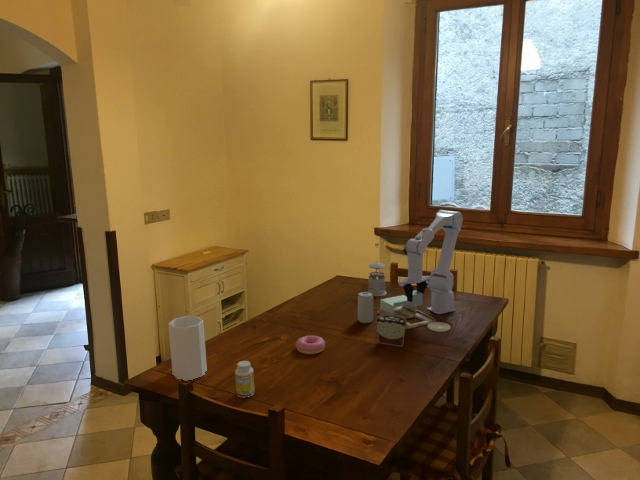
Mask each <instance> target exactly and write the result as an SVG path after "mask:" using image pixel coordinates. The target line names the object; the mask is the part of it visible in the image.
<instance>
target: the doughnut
mask: <svg viewBox="0 0 640 480" xmlns="http://www.w3.org/2000/svg"><path fill="white" fill-rule="evenodd" d="M295 348H296V350H297V351H298V352H299V353H301V354H304V355H316V354H319V353H322V352H323V351H324V350H325V348H326V341H325V340H324V338H323V337H321V336H318V335H305V336H302V337H300V338H298V339H297V341H296V342H295Z"/></svg>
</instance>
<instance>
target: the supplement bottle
mask: <svg viewBox="0 0 640 480" xmlns="http://www.w3.org/2000/svg"><path fill="white" fill-rule="evenodd" d="M236 366H237V367H236V369H235V372H234V375H235V388H236V389H235V391H236V392H235V393H236V396H237V397H238V398H241V397H242V398H241V399H246V398H245V397H248V398H251V397H252V396H254V394H255V392H256V391H255V375H254V374H255V372H254V368H253V367H252V365H251V362H250V361H248V360H242V361H239V362H237V363H236ZM250 396H251V397H250Z"/></svg>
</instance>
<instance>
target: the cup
mask: <svg viewBox="0 0 640 480" xmlns="http://www.w3.org/2000/svg"><path fill="white" fill-rule="evenodd" d="M204 326H205V324H204V320H203V319H202V318H201V317H200V316H195V315H185V316H180V317H175V318H173V319H172V320H171V321H170V322H168V339H169V346H170V347H169V348H170V350H169V351H170V359H171V372H172V376H173V375H174V376H175V377H176V378H177V379H183V380H184V381H185V382H189V381H188V380H192V381H194V380H193V379H195V378H198V377H201V376H203V375H204V376H205V375H206V373H207V372H208V367H207V366H208V365H207V354H206V353H207V351H206V337H205V327H204ZM206 371H207V372H206ZM205 372H206V373H205ZM174 376H173V377H174ZM204 376H203V377H204ZM175 377H174V378H175ZM176 378H175V379H176ZM201 378H202V377H201ZM177 379H176V380H177ZM198 379H199V378H198ZM195 380H196V379H195Z"/></svg>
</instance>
